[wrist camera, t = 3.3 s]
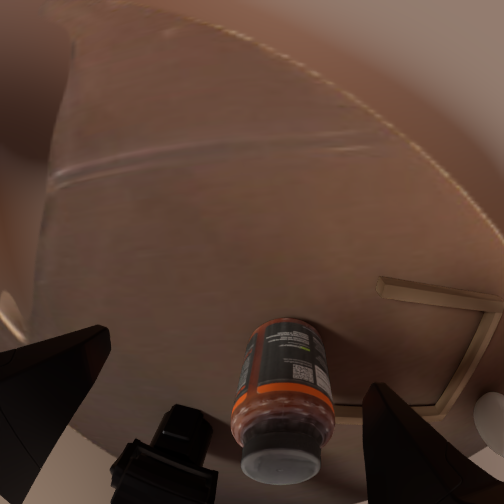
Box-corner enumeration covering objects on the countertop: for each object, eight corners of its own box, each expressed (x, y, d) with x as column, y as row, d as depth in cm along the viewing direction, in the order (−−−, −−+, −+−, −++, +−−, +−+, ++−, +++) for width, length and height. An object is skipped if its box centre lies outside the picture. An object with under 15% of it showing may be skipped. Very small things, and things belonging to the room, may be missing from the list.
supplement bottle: (256, 378, 23) (235, 492, 12) (240, 320, 22) (201, 439, 11) (327, 369, 22) (340, 487, 11) (319, 308, 20) (339, 431, 10)
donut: (511, 391, 21) (543, 441, 11) (494, 411, 22) (522, 462, 13) (476, 378, 21) (515, 442, 11) (456, 402, 22) (488, 467, 12)
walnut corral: (437, 411, 22) (441, 420, 21) (328, 411, 23) (329, 423, 22) (497, 295, 18) (506, 302, 17) (379, 276, 19) (385, 284, 18)
